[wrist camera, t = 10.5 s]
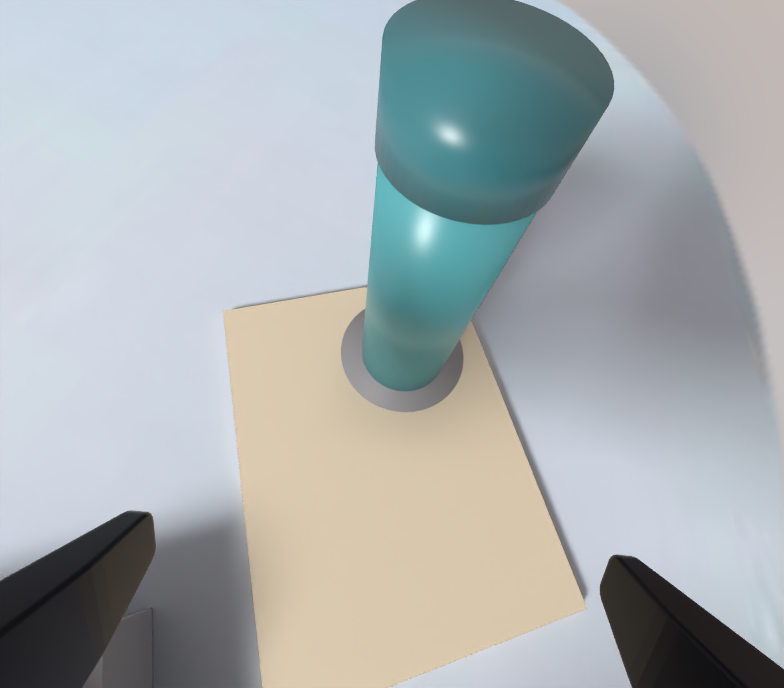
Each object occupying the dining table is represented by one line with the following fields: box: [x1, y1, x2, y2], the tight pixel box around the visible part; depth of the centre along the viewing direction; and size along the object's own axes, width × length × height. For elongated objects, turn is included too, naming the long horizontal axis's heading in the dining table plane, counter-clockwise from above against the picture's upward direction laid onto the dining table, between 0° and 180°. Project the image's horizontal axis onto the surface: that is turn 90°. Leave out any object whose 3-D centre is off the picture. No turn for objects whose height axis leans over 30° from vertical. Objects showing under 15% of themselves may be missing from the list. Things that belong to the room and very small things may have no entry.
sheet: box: [223, 287, 587, 688], centre depth 17 cm, size 16×12×1 cm
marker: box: [362, 0, 614, 391], centre depth 13 cm, size 4×4×13 cm
